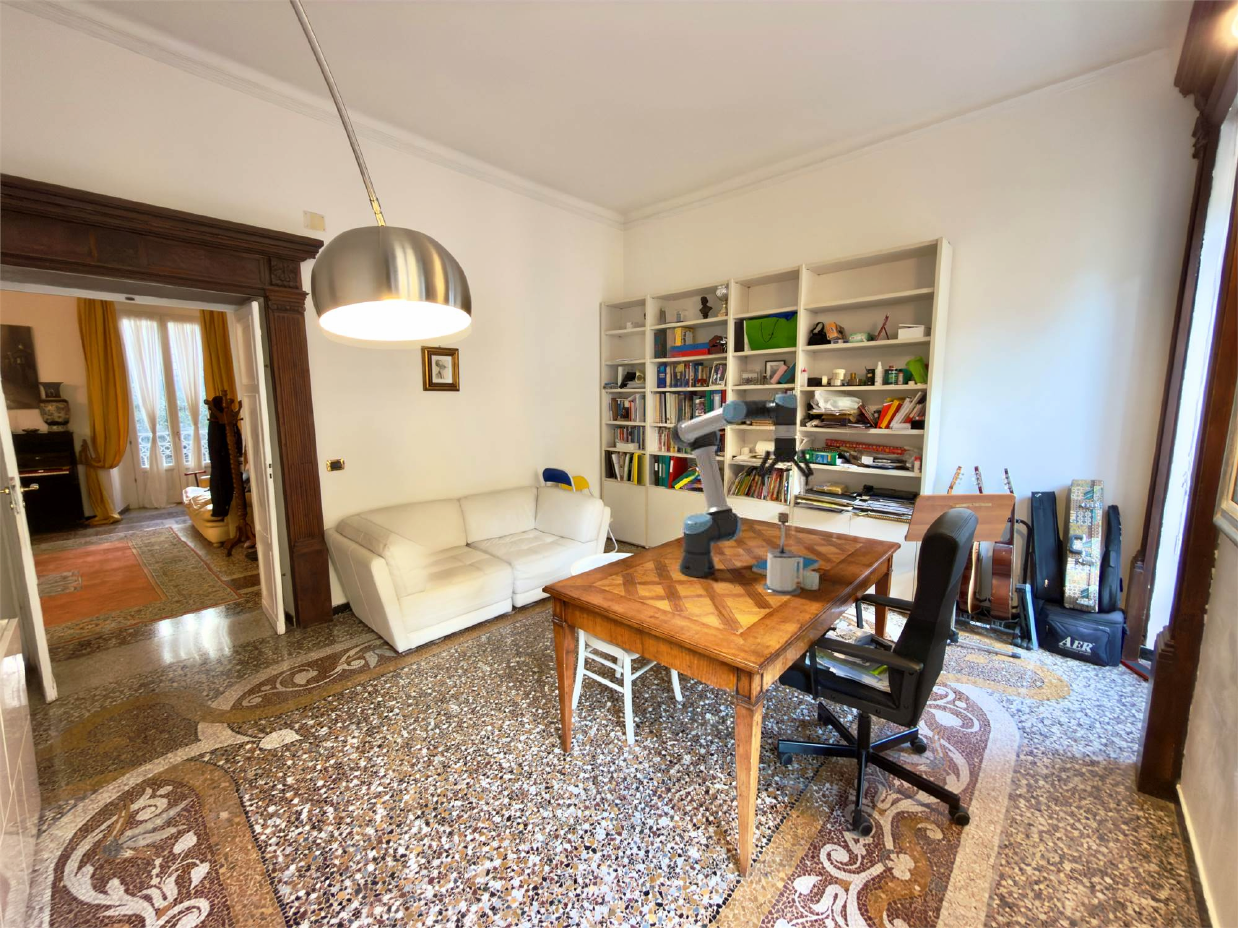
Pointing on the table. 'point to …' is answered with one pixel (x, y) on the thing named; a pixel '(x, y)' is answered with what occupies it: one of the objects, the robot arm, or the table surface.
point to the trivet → (781, 593)
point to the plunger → (783, 527)
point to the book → (807, 565)
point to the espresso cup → (810, 580)
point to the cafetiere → (783, 570)
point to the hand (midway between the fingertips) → (783, 494)
